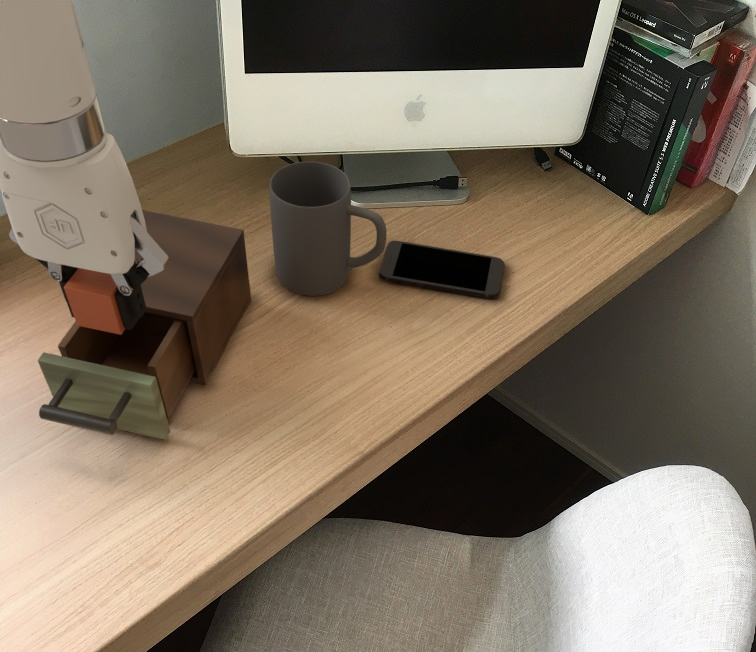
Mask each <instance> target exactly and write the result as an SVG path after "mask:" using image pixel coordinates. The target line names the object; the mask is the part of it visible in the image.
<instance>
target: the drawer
mask: <svg viewBox="0 0 756 652" xmlns="http://www.w3.org/2000/svg"><path fill="white" fill-rule="evenodd" d="M57 347H58V350H59V353H60V355H59V354H54V353H50V352H46V351H45V352H44V351H43V352H42V354H41V355H40V356H39V358H37V363H38V365H39V368H40V370H41V372H42V374H43V377H44V379H45V381H46V384H47V387H48V389H49V391H50V394H51V396H52V398H51V399H50V401H49V402H48V404H46V403H44V404H42V405H41V406H40V407H39V410H38V416H39V418H40V419H41V420H44V421H47V422H48V421H49V422H53V423H58V424H61V425H66V426H70V427H75V428H79V429H84V430H88V431H92V432H97V433H101V434H105V435H109V436H113V435H114V434H115V433H116V432H117V430H120V431H125V432H130V433H134V434H138V435H143V436H148V437H151V438H155V439H159V440H165V441H166V440H167V438H168V436H169V435H170V432H171V429H170V424H169V422H168V419H169V418H170V417H171V415H172V413H173V411H174V410H175V408H176V406H177V404H178V402H179V401H180V398H181V397H182V395H183V393H184V392H185V390H186V388H187V386H188V384H189V381H190V379H191V377H192V375H193V373H194V371H195V370H196V365H195V361H194V356H193V351H192V346H191V341H190V336H189V331H188V326H187V321H185V320H180V319H176V318H171V317H166V316H161V315H157V314H152V313H147V312H145V313H144V314H143V316H142V317H141V318H139V319H138V321H137V322H136V324H135V325H134V327H133V329H131V330H130V329H125V330H124V332H123V333H122V335H120V334H115V333H110V332H105V331H101V330H96V329H91V328H87V327H82V326H77V324H76V321H75V320H74V322H73V324H72V326H71V327H70V328H69V329H68V330H67V332H66V333H65V334H64V336H63V337H62V339H61V341H60V342H59V343H58V345H57Z"/></svg>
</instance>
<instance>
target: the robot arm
mask: <svg viewBox="0 0 756 652" xmlns="http://www.w3.org/2000/svg"><path fill="white" fill-rule="evenodd" d="M86 51H87V50H86V47H85V43H84V39H83V35H82V31H81V26H80V23H79V18H78V15H77V11H76V7H75V3H74V0H0V192H1V197H2V201H3V204H4V208H5V210H6V214H7V217H8V220H9V222H10V226H11V228H10V231H9V233H8V237H9V238H10V240H11V241H12V242H14V243H15V244H17V245H18V246H19V248H20V250H22V252H23V253H24V254H25V255H27V256H29V257H30V258H33V259H35V260H37V262H38V263H39V264H40V265H42V266H43V267H45V268H46V269H47V270H48V276H49V277H50V279H52V281H54V282H58V283H59V286H60V289H61V292H62V295H63V297H64V300H65V302H66V305H67V307H68V310H69V313H70V316H71V318H73V319H75V318H74V315H73V312H72V309H71V307H70V304H69V301H68V298H67V295H66V293H65V290H64V286H65V285H66V284H67V282H68V281H69V280H70V278H71V277H72V276H73V274H74V273H75V272H76V270H77V269H78V268H82V269H87V270H92V271H97V272H102V273H108V274H110V275H111V277H112V278H113V280H114V282H115V284H116V286H117V288H118V291H117V293H116V294H115V299H116V302H117V306H118V309H119V312H120V316H121V319H122V323H123V326H124V327H125V328H126V329H130V330H131V329H133V327H134V325H135V324H136V322H137V321H138V319H139V318H141V317H142V316H143V314H144V313H145V310H146V304H145V300H144V296H143V292H142V288H141V284H142V283H143V282H144V281H145V280H146V279H147V278H148V277H150V276H153V275H155V274H157V273H159V272H161V271H163V270H164V268H165V267H166V265H167V264H168V262H169V260H170V259H169V257H168V255H167V254H166V253H165V252H164V251H163V250H162V249H161V247H160V246H159V245H158V244H157V243H156V242H155V241H154V240H153V238H152V237H151V236H150V235H149V234H148V233H147V229H146V224H145V219H144V215H143V212H142V210H143V208H142V205H141V202H140V198H139V196H138V192H137V189H136V186H135V184H134V183H135V182H134V181H133V178H132V174H131V172H130V170H129V167H128V165H127V163H126V160H125V158H124V155H123V153H122V151H121V148H120V146H119V145H118V143H117V141H116V139H115V137H114V136H113V135H112V134H110V133H108V132H107V130H106V127H105V122H104V119H103V118H104V117H103V114H102V110H101V107H100V102H99V99H98V95H97V91H96V87H95V83H94V78H93V75H92V71H91V67H90V63H89V58H88V53H87V52H86ZM135 250H136V251H137V252H138V253H139V254H140V255H141V256H142V257H143V259H141V260H140V261H138V259H137V257H136V255H135Z"/></svg>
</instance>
